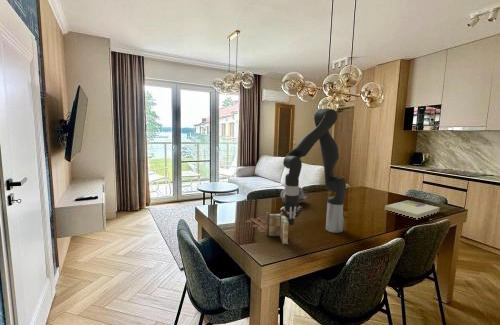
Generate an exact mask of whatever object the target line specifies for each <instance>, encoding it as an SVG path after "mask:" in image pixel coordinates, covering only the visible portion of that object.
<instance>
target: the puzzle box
mask: <svg viewBox="0 0 500 325" xmlns="http://www.w3.org/2000/svg"><path fill="white" fill-rule="evenodd" d="M385 210H388V211H392V212H395V213H398V214H397V215H399V214H402V215H401V216H403V215H405V216H404V217H406V216H409V217H408V218H410V217H413V218H416V219H415V220H419V219H418V218H420V219H422V218H421V217H423V218H425V217H424V216H426V217H428V216H427V215H429V216H431V214H432V215H435V214H438V213H439V212H440V207H439V206H434V205H430V204H426V203H421V202H417V201H413V200H402V201H400V202H399V201H398V202H394V203H391V204H386V205H384V211H385ZM388 211H387V212H388ZM392 212H391V213H392ZM437 212H438V213H437ZM395 213H394V214H395ZM434 213H435V214H434ZM413 218H412V219H413Z"/></svg>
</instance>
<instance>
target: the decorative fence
mask: <svg viewBox="0 0 500 325" xmlns="http://www.w3.org/2000/svg"><path fill="white" fill-rule="evenodd" d="M261 222H262V223H261ZM245 223H255V224H253V225H252V227H253V228H256V227H258V228H259V227H260V228H262V229H260V230H259V232H261V233H265V232H266V217H261V216H257V218H254V217H252V218H251V217H250V219H248V220H245Z"/></svg>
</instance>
